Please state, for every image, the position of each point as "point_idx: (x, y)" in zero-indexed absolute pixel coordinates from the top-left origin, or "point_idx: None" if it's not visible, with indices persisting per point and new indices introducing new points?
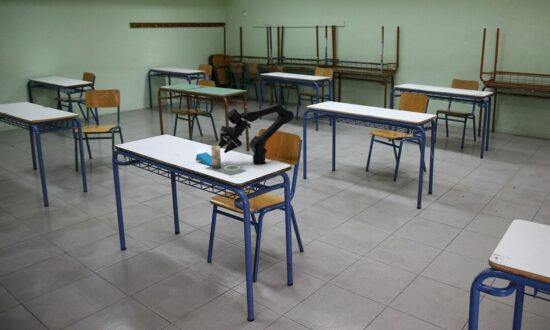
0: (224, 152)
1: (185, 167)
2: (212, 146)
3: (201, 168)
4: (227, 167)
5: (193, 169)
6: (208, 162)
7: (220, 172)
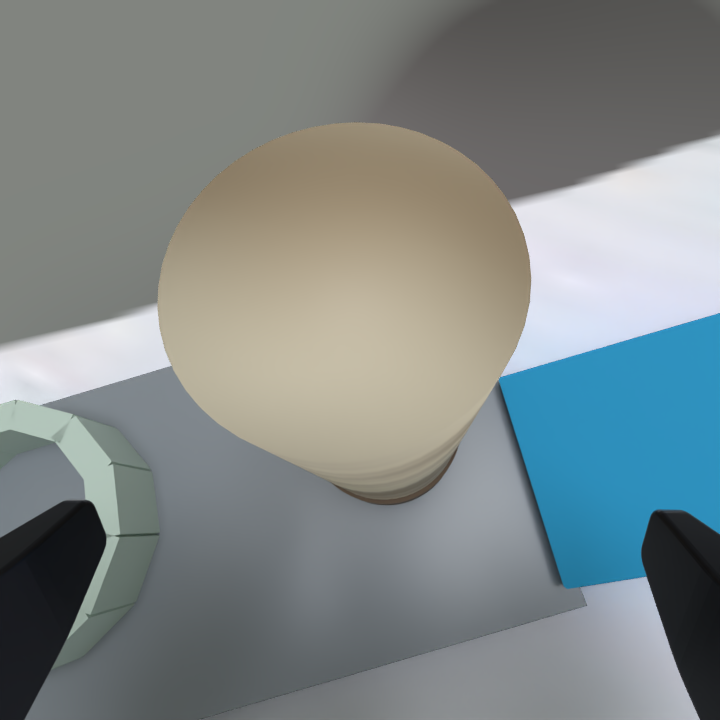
0: (80, 513)
1: (704, 141)
2: (453, 181)
3: (562, 288)
4: (93, 493)
5: (561, 194)
6: (602, 369)
7: (137, 381)
